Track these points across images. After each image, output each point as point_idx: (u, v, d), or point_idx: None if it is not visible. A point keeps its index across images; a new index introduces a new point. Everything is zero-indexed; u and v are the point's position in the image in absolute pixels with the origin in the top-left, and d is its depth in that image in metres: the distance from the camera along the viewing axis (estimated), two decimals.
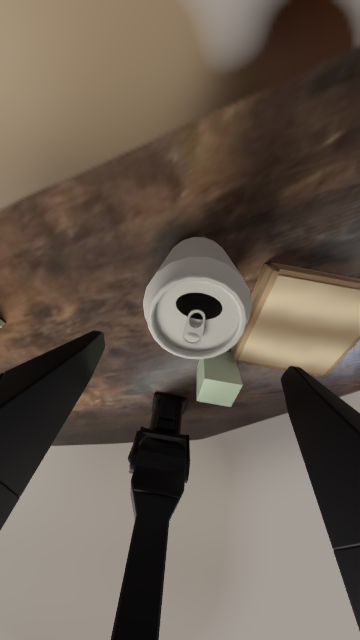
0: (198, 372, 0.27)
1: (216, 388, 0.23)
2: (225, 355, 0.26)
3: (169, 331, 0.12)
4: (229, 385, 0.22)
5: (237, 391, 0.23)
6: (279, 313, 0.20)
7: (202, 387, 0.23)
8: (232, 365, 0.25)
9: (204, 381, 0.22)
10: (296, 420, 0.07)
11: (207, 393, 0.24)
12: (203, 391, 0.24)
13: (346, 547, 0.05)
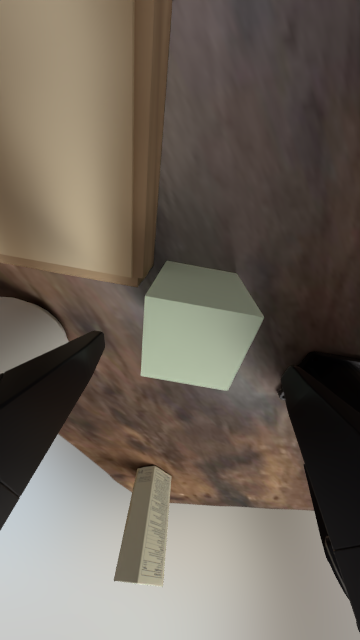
0: None
1: (170, 355, 0.09)
2: None
3: None
4: (152, 329, 0.08)
5: (177, 306, 0.07)
6: None
7: (173, 379, 0.10)
8: None
9: (151, 375, 0.10)
10: (296, 420, 0.07)
11: (194, 371, 0.09)
12: (188, 378, 0.10)
13: (346, 546, 0.05)
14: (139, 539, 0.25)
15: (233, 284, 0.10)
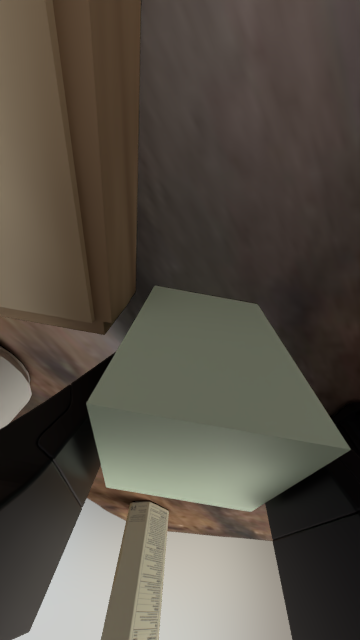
0: None
1: (152, 475, 0.05)
2: None
3: None
4: (114, 446, 0.04)
5: (160, 421, 0.03)
6: None
7: (160, 494, 0.06)
8: None
9: (123, 488, 0.06)
10: None
11: (194, 491, 0.05)
12: (186, 497, 0.06)
13: (282, 535, 0.05)
14: (129, 600, 0.21)
15: (259, 333, 0.06)
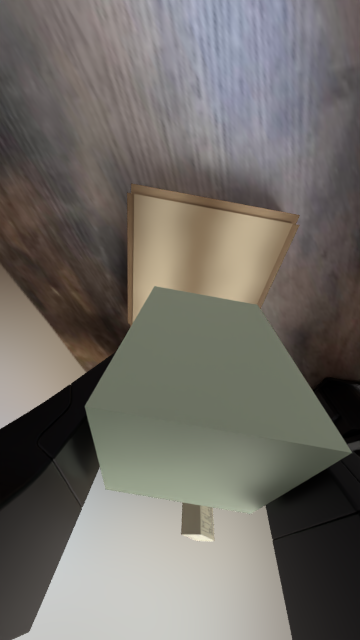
0: None
1: (151, 477, 0.05)
2: None
3: None
4: (113, 448, 0.04)
5: (159, 424, 0.03)
6: None
7: (159, 496, 0.06)
8: None
9: (122, 490, 0.06)
10: None
11: (195, 493, 0.05)
12: (186, 498, 0.06)
13: (282, 535, 0.05)
14: (196, 506, 0.34)
15: (259, 334, 0.06)
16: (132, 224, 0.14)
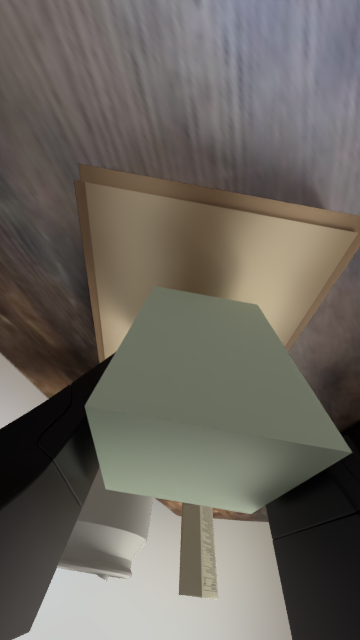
0: None
1: (151, 477, 0.05)
2: None
3: None
4: (113, 448, 0.04)
5: (159, 424, 0.03)
6: None
7: (159, 496, 0.06)
8: None
9: (122, 490, 0.06)
10: None
11: (194, 494, 0.05)
12: (186, 498, 0.06)
13: (281, 535, 0.05)
14: (196, 558, 0.29)
15: (259, 334, 0.06)
16: (89, 233, 0.09)
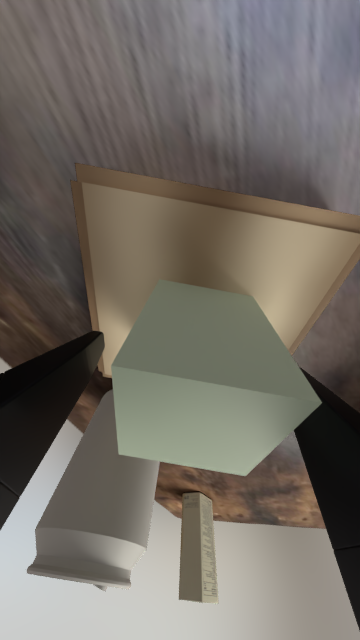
0: None
1: (160, 437, 0.06)
2: None
3: None
4: (129, 408, 0.05)
5: (169, 381, 0.04)
6: None
7: (166, 460, 0.07)
8: None
9: (133, 454, 0.07)
10: None
11: (196, 454, 0.06)
12: (188, 461, 0.06)
13: (346, 547, 0.05)
14: (196, 562, 0.29)
15: (253, 319, 0.07)
16: (86, 235, 0.08)
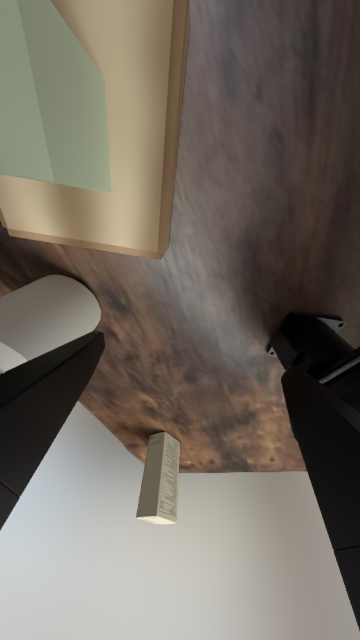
0: None
1: None
2: None
3: None
4: None
5: None
6: (52, 207, 0.13)
7: None
8: None
9: None
10: (296, 420, 0.07)
11: None
12: None
13: (346, 547, 0.05)
14: (155, 485, 0.30)
15: None
16: None
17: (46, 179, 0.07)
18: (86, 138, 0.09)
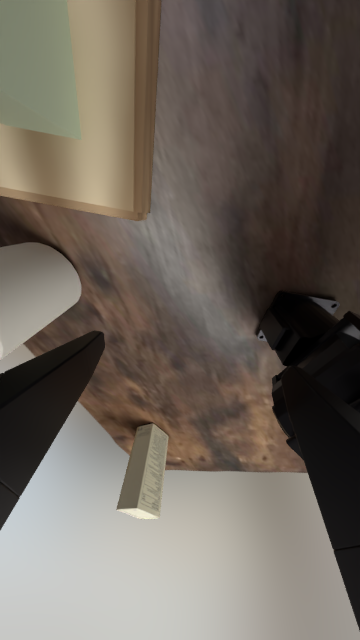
0: (36, 122, 0.10)
1: None
2: None
3: None
4: None
5: None
6: (20, 157, 0.12)
7: None
8: None
9: None
10: (296, 420, 0.07)
11: None
12: None
13: (346, 546, 0.05)
14: (138, 477, 0.28)
15: None
16: None
17: None
18: (39, 55, 0.08)
